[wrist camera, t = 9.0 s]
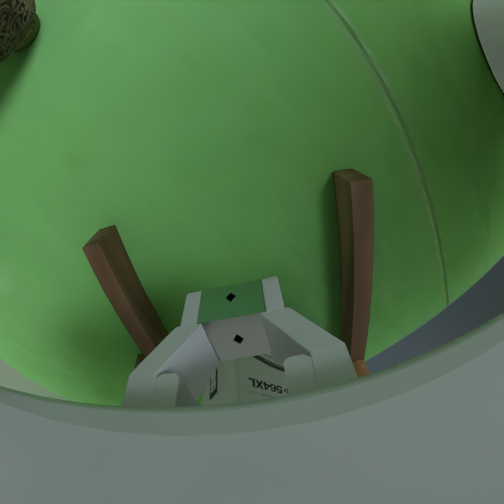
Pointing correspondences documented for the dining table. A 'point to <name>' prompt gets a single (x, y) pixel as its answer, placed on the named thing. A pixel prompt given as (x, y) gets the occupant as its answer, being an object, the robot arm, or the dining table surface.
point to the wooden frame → (351, 269)
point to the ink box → (246, 380)
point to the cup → (17, 26)
